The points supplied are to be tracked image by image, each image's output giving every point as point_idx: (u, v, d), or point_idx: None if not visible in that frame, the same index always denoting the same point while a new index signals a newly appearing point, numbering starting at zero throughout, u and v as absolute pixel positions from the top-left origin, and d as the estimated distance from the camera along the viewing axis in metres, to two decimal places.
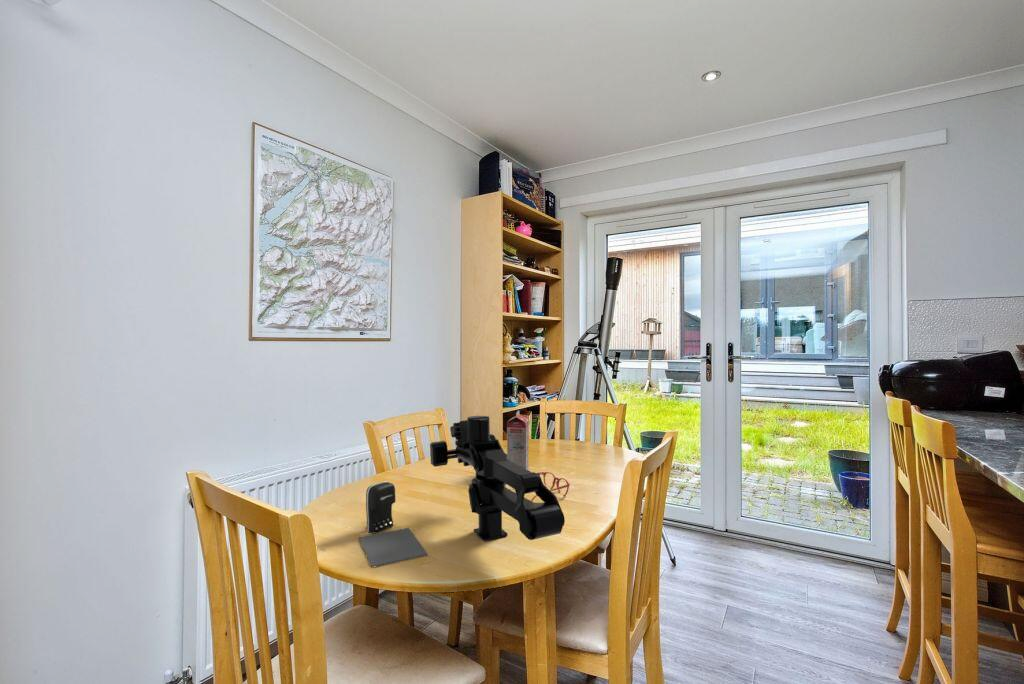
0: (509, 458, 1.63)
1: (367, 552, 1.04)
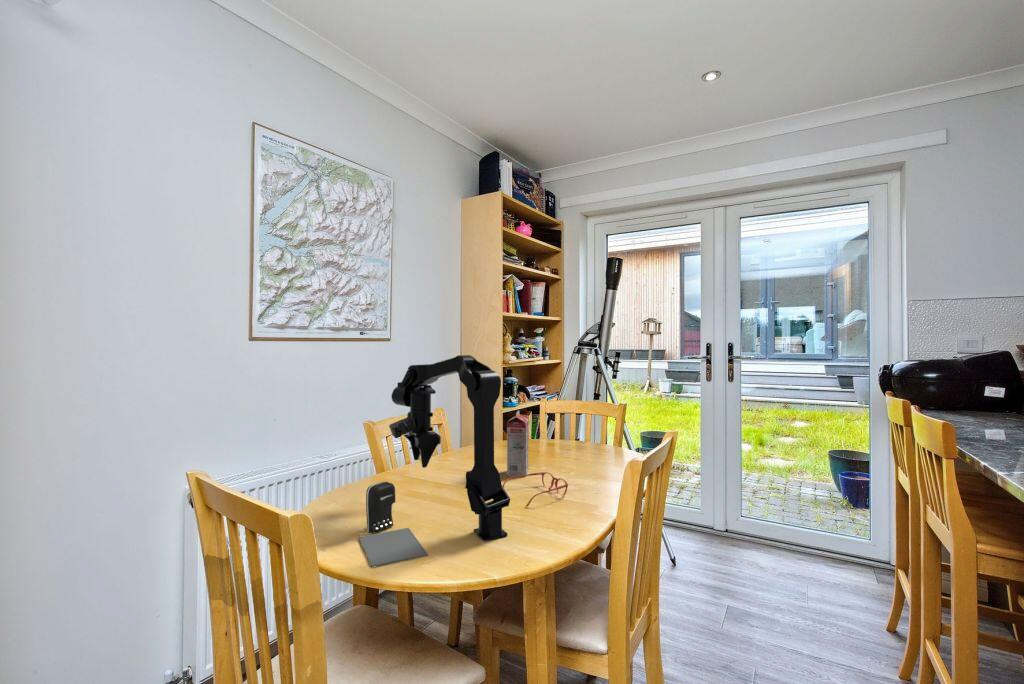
0: (509, 458, 1.63)
1: (367, 552, 1.04)
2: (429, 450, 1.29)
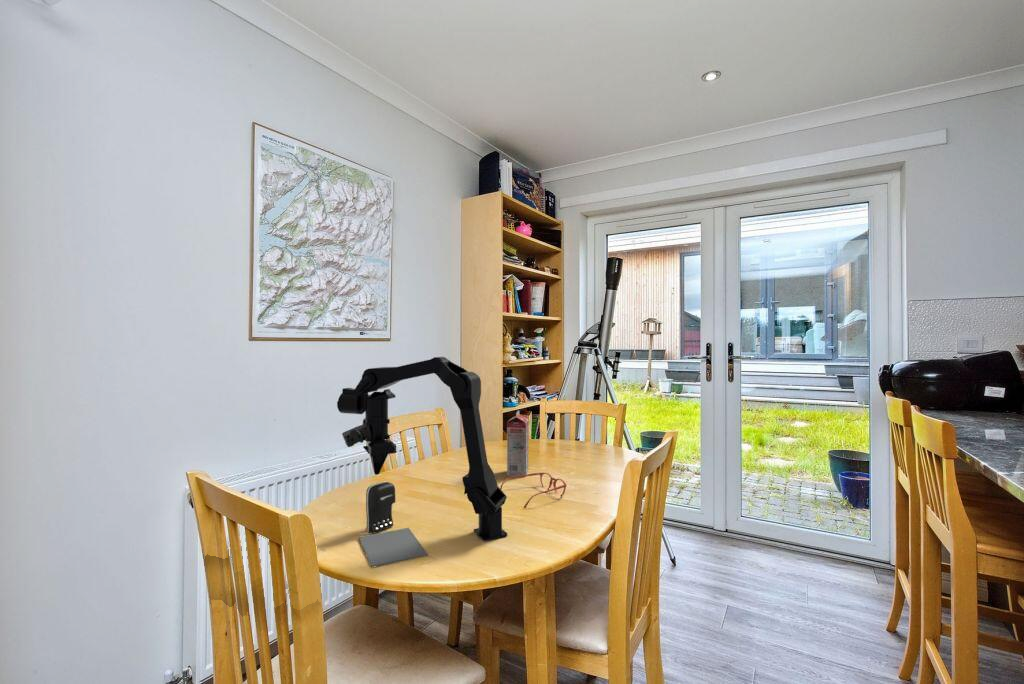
0: (509, 458, 1.63)
1: (367, 552, 1.04)
2: (381, 456, 1.23)
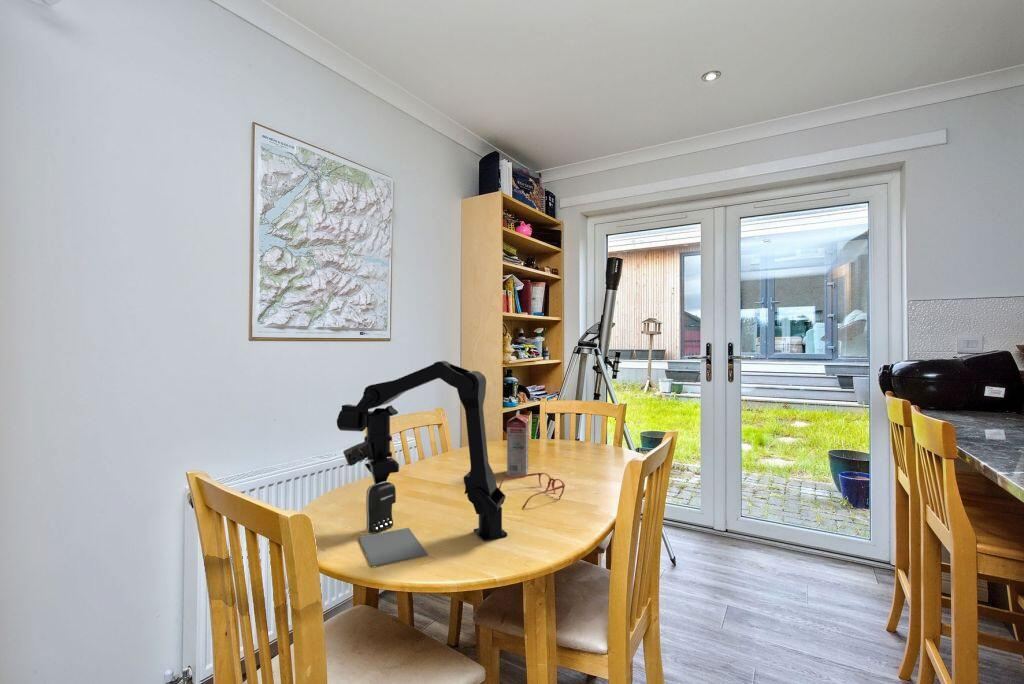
0: (509, 458, 1.63)
1: (367, 552, 1.04)
2: (384, 474, 1.20)
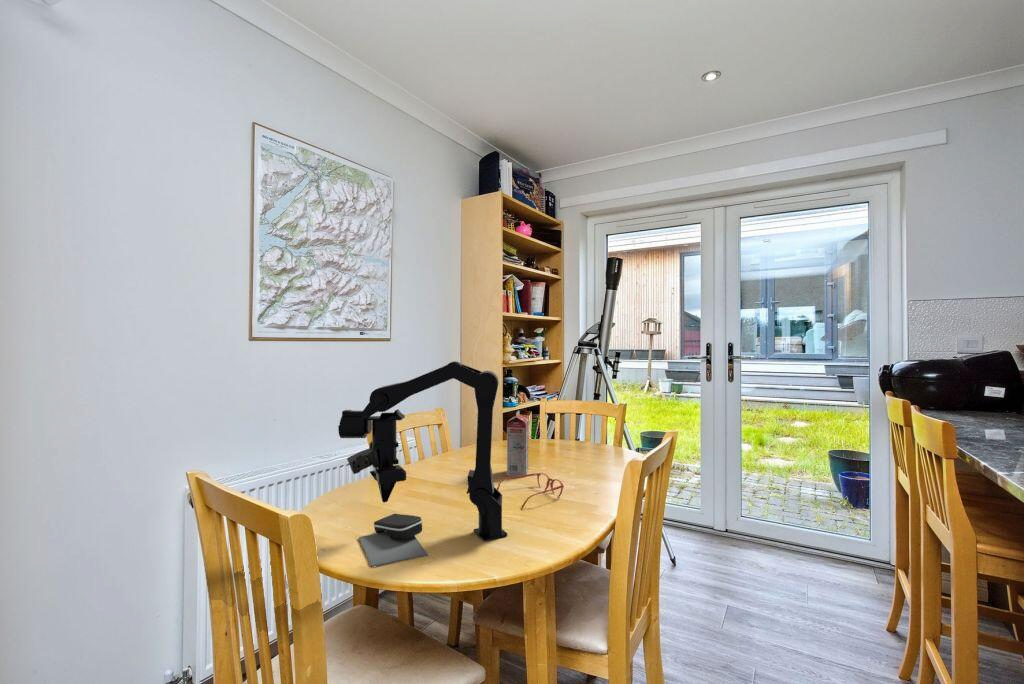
0: (509, 458, 1.63)
1: (367, 552, 1.04)
2: (390, 483, 1.14)
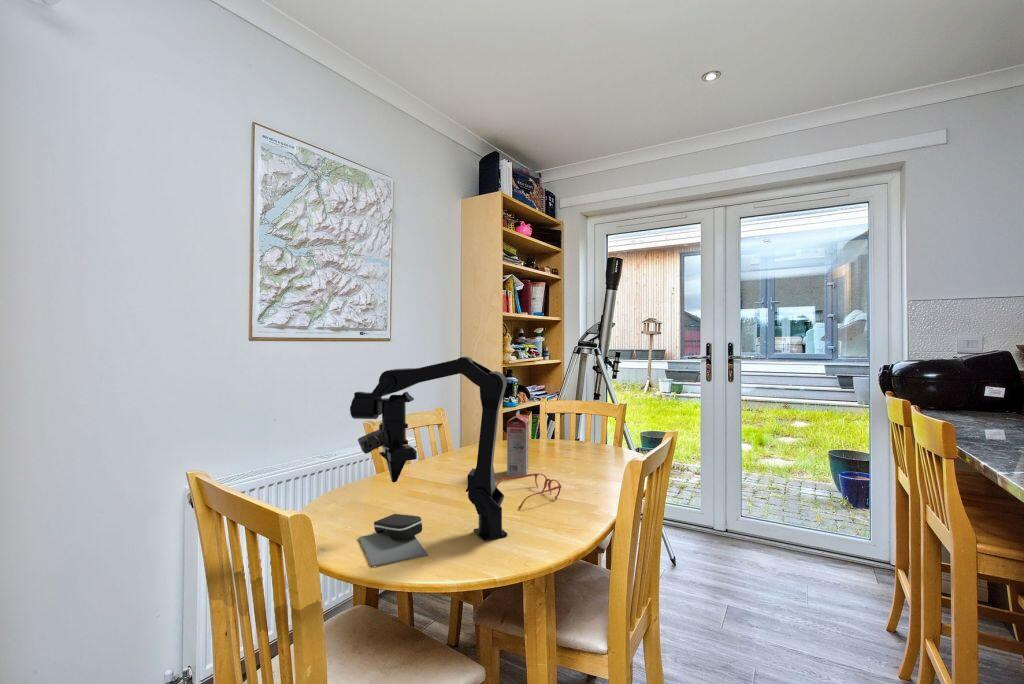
0: (509, 458, 1.63)
1: (367, 552, 1.04)
2: (399, 463, 1.17)
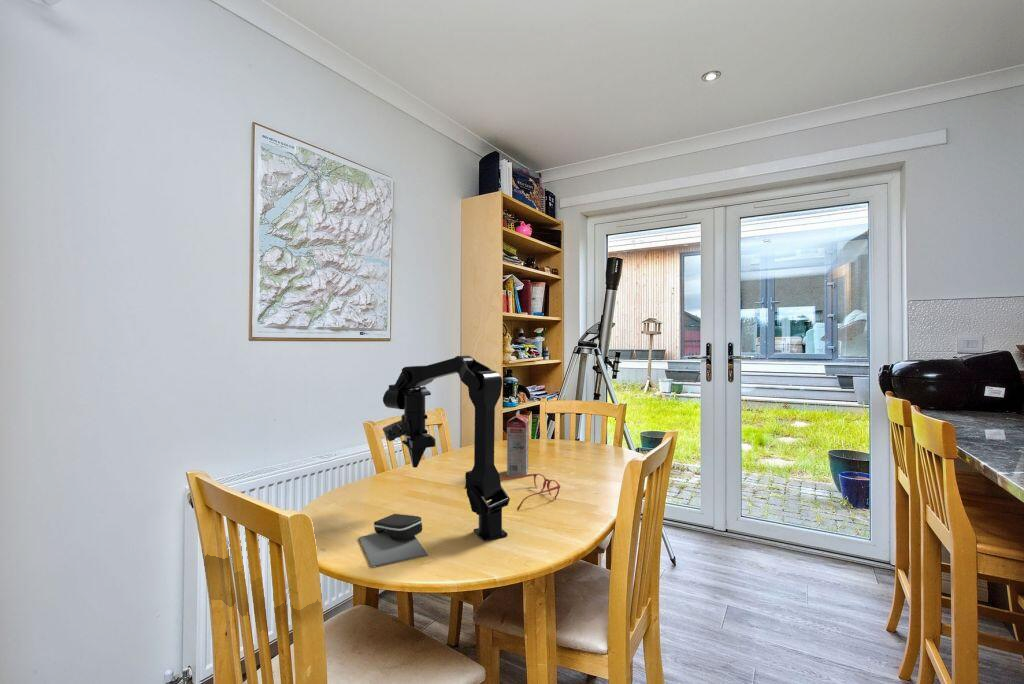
0: (509, 458, 1.63)
1: (367, 552, 1.04)
2: (420, 450, 1.30)
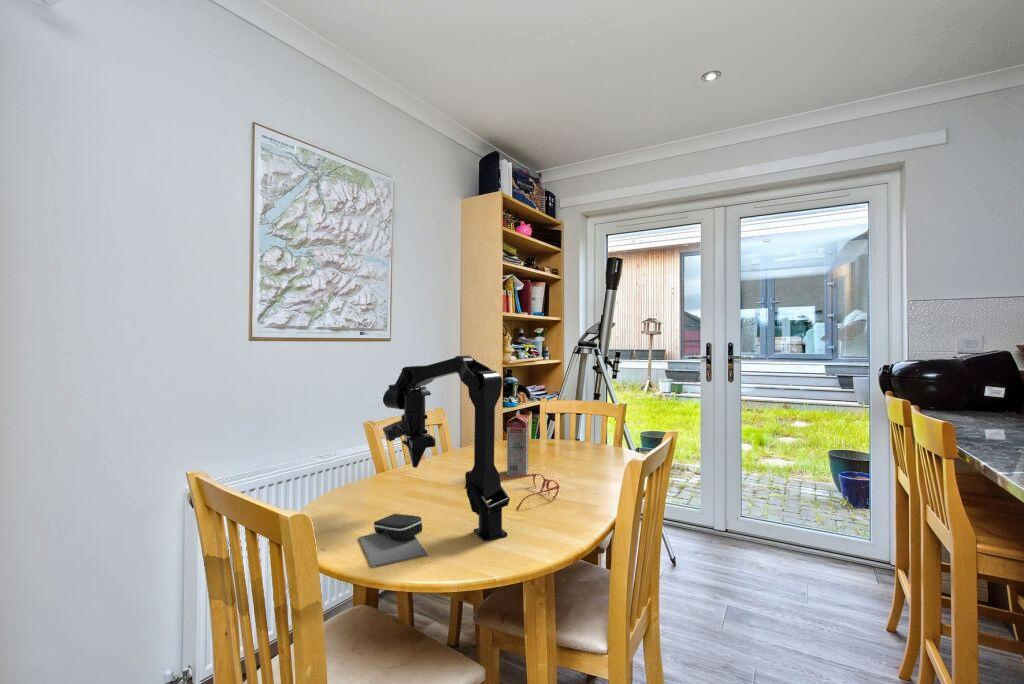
0: (509, 458, 1.63)
1: (367, 552, 1.04)
2: (420, 450, 1.30)
